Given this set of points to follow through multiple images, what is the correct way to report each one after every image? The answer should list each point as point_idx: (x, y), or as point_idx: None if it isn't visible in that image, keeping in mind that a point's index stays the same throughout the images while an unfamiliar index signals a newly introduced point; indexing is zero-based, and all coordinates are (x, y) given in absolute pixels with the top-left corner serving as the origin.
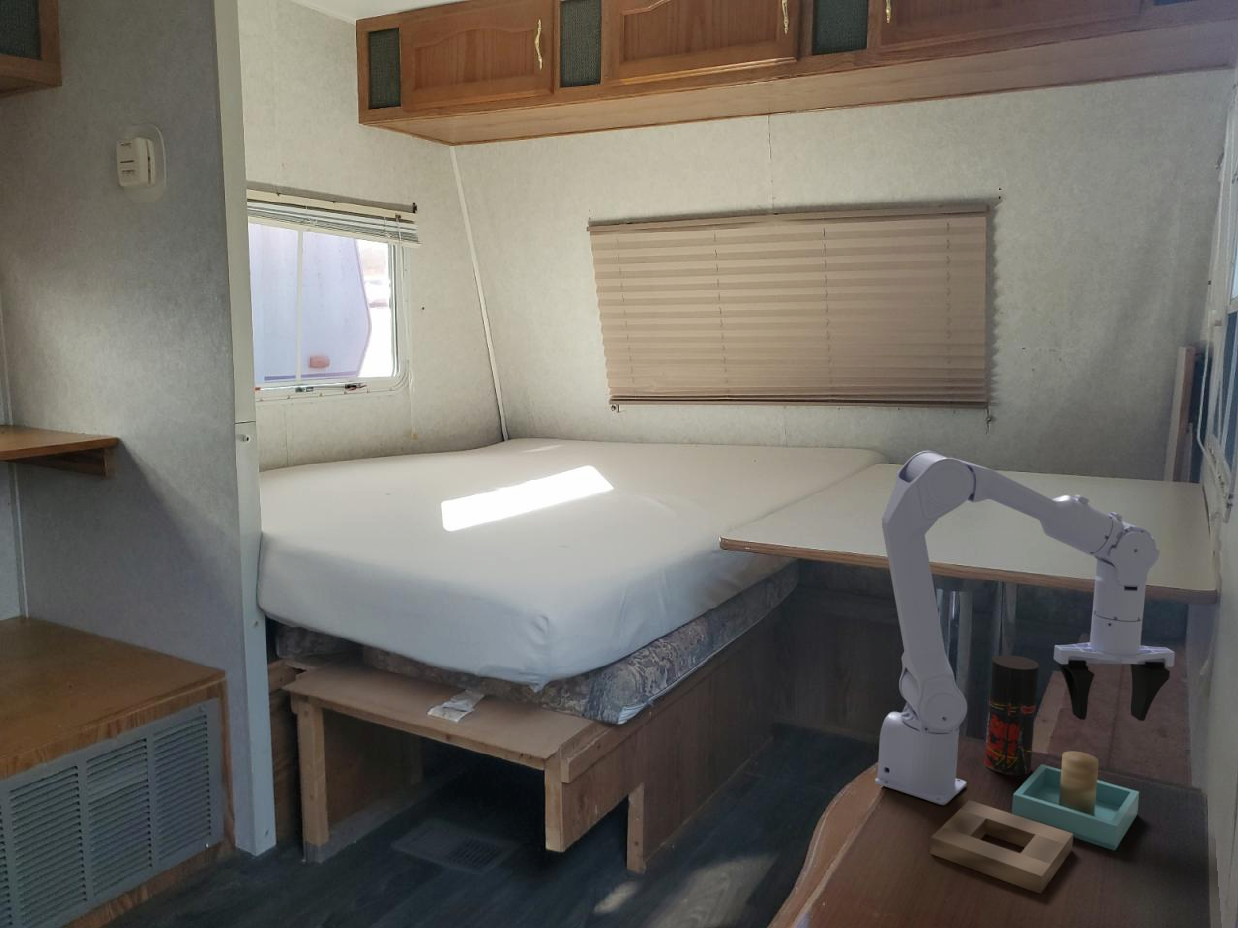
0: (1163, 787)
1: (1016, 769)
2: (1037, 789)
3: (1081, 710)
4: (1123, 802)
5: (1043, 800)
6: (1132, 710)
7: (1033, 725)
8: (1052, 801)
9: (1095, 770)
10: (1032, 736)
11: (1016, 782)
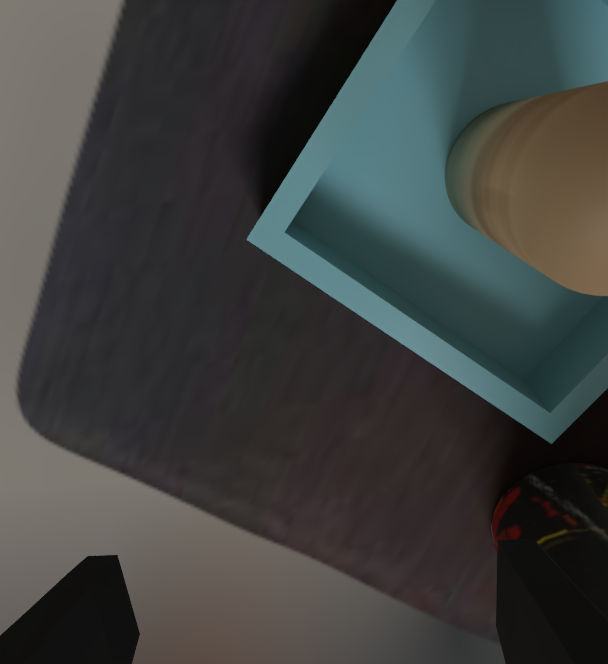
0: (100, 433)
1: (581, 475)
2: (600, 312)
3: (572, 585)
4: (307, 237)
5: None
6: (125, 655)
7: None
8: None
9: (555, 103)
10: None
11: (595, 415)
